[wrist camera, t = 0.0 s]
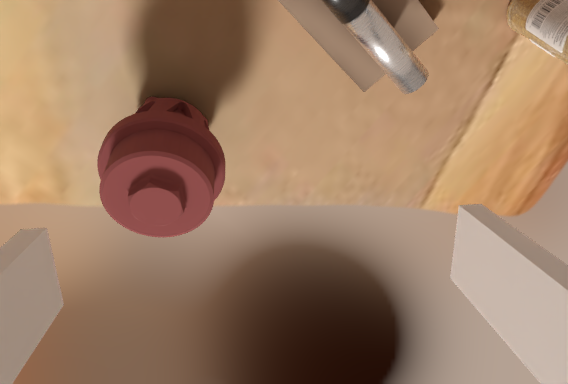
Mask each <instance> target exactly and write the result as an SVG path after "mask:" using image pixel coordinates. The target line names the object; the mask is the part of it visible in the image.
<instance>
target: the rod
mask: <svg viewBox="0 0 568 384" xmlns="http://www.w3.org/2000/svg"><path fill="white" fill-rule="evenodd" d="M321 1H322V2H323V3H324V4H325V5H326V6H327V8H328V9H329V10H330V11H331V12H332V13H333V14H334V16H335V17H336V18H337V19H338V20H339V21H340V23H341V24H343V25H344V26H345V27H346V28H347V29H348V31H349V32H350V33H351V34H352V35H353V36H354V38H355V39H356V40H357V41H358V42H359V43H360V44H361V46H362V47H363V48H364V49H365V50H366V51H367V52H368V54H369V55H370V56H371V57H372V58H373V59H374V61H375V62H376V63H377V64H378V65H379V66H380V67H381V69H382V70H383V71H384V72H385V73H386V74H387V76H388V77H389V78H390V79H391V80H392V81H393V82H394V84H395V85H396V86H397V87H398V88H399V89H400V91H401V92H402V93H404V94H408V93H412V92H414V91H416V90H417V89H419V88H420V87H421V86H422V85H423V84H424V83H425V82H426V80H427V78H428V71H427V69H426V68H425V67H424V65H423V64H422V63H421V62H420V60H419V59H418V58H417V57H416V55H415V54H414V53H413V52H412V50H411V49H410V48H409V47H408V45H407V44H406V43H405V41H404V40H403V39H402V38H401V36H400V35H399V34H398V33H397V31H396V30H395V29H394V28H393V26H392V25H391V24H390V23H389V21H388V20H387V19H386V17H385V16H384V15H383V14H382V12H381V11H380V10H379V9H378V7H377V6H376V5H375V4H374V2H373V1H372V0H321Z"/></svg>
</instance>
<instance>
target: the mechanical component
mask: <svg viewBox="0 0 568 384" xmlns="http://www.w3.org/2000/svg"><path fill="white" fill-rule="evenodd" d="M98 172H99V176H100V179H101V183H100V198H101V201H102V204H103V206H104V208H105V209H106V211H107V212H108V214H109V215H110V216H111V217H112V218H113V219H114V220H116V222H117V223H119V224H120V225H122V226H123V227H125V228H127V229H129V230H131V231H133V232H136V233H139V234H142V235H146V236H152V237H172V236H177V235H182V234H185V233H188V232H190V231H192V230H194V229H195V228H197V227H198V226H200V225H201V224H202V223H203V222H204V221H205V220H206V219H207V217H208V216H209V214H210V212H211V210H212V207H213V203H214V200H215V199H216V198H217V197H218V195H219V194H220V192H221V190H222V187H223V185H224V181H225V158H224V153H223V151H222V148H221V146H220V144H219V142H218V140H217V139H216V138H215V137H214V135H213V134H212V133H211V132H210V131H209V127H208V120H207V119H206V118H205V117H204V116H203V115H202V113H201V112H200V111H199V110H198V109H197V108H195V107H194V106H193V105H191V104H189V103H187V102H185V101H183V100H179V99H175V98H157V97H149V98H147V99H146V100H145V103H144V105H142V106H141V107H140V108H139V109H138V110H137V112H136V113H135V114H133V115H131V116H128V117H126V118H124V119H123V120H121V121H119V122H118V123H117V124H116V125H115V126H113V127H112V129H111V130H110V131H109V132H108V134H107V135H106V137H105V139H104V141H103V144H102V146H101V149H100V151H99V155H98Z"/></svg>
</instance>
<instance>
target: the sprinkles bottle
mask: <svg viewBox="0 0 568 384" xmlns="http://www.w3.org/2000/svg"><path fill="white" fill-rule="evenodd" d="M507 23H508V25H509V27H510V28H511V29H512V30H513V31H515V32H517V33H518V34H522V35H523V36H525V37H526V38H528V39H530V41H531V42H532V43H534V44H535V45H537V46H538V47H540V48H541V49H543V50H544V51H546V52H547V53H549V54H550V55H552V56H554V57H557V58H558V59H560V60H561V61H563V62H564V63H566V64H567V65H568V0H511V2H510V4H509V6H508V9H507Z"/></svg>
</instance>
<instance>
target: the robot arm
mask: <svg viewBox="0 0 568 384" xmlns="http://www.w3.org/2000/svg"><path fill="white" fill-rule="evenodd" d="M450 278H451V280H452V281H453V282H454V283H455V284H456V286H458V288H459V289H460V290H461V291H462V292H463V294H464V295H465V296H466V297H467V298H468V300H469V301H470V302H471V303H472V304H473V305H474V307H475V308H476V309H477V310H478V311H479V312H480V314H481V315H482V316H483V317H484V318H485V319H486V321H487V322H488V323H489V324H490V325H491V326H492V327H493V329H494V330H495V331H496V332H497V333H498V335H499V336H500V337H501V338H502V339H503V340H504V341H505V343H506V344H507V345H508V346H509V347H510V348H511V350H512V351H513V352H514V353H515V354H516V355H517V357H518V358H519V359H520V360H521V361H522V362H523V364H524V365H525V366H526V367H527V368H528V369H529V371H530V372H531V373H532V374H533V375H534V376H535V378H536V379H537V380H538V381H539V382H540V383H541V384H568V265H567V264H565V263H564V262H562V261H561V260H560V259H558V258H557V257H556V256H554V255H553V254H551V253H550V252H548V251H547V250H545V249H544V248H543V247H541V246H540V245H538V244H537V243H536V242H534V241H533V240H531V239H530V238H529V237H527V236H526V235H524V234H523V233H522V232H520V231H519V230H517V229H516V228H514V227H513V226H512V225H510V224H509V223H507V222H506V221H505V220H503V219H502V218H500V217H499V216H497V215H496V214H495V213H493V212H492V211H490V210H489V209H488V208H486V207H485V206H483V205H482V204H473V205H459V210H458V218H457V226H456V235H455V243H454V251H453V259H452V269H451V276H450ZM63 305H64V304H63V300H62V294H61V290H60V285H59V281H58V276H57V272H56V267H55V263H54V258H53V253H52V249H51V244H50V240H49V235H48V231H47V228H34V229H21V230H20V231H18V232H17V233H16V234H15V235H14V236H13V237H12V238H11V239H9V240H8V241H7V242H6V243H5V244H4V245H3V246H2V247H0V384H12V383H13V382H14V380H15V379H16V377H17V376H18V374H19V372H20V371H21V369H22V368H23V366H24V365H25V363H26V362H27V360H28V359H29V357H30V356H31V354H32V353H33V351H34V350H35V348H36V346H37V345H38V343H39V342H40V340H41V339H42V337H43V336H44V334H45V333H46V331H47V330H48V328H49V326H50V325H51V323H52V322H53V320H54V319H55V317H56V316H57V314H58V313H59V311H60V310H61V308H62V306H63Z"/></svg>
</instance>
